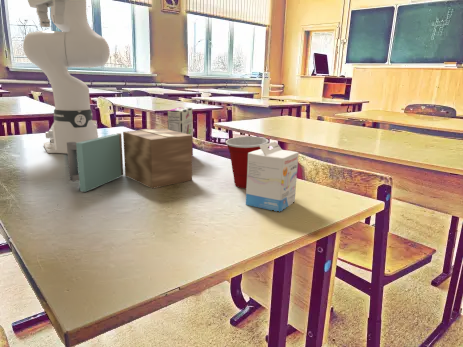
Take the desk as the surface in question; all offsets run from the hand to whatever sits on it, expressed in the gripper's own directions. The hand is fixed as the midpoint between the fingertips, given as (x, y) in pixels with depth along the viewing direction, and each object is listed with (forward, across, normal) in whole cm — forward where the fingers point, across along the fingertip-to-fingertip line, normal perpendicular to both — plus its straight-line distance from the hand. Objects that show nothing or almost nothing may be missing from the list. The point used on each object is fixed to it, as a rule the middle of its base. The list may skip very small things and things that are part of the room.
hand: (51, 25), depth 84 cm
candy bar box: (+37, +1, -37) cm, 53 cm away
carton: (+37, -14, -19) cm, 44 cm away
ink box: (+37, -46, -28) cm, 66 cm away
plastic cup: (+37, -33, -33) cm, 60 cm away
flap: (+37, -9, -4) cm, 38 cm away
